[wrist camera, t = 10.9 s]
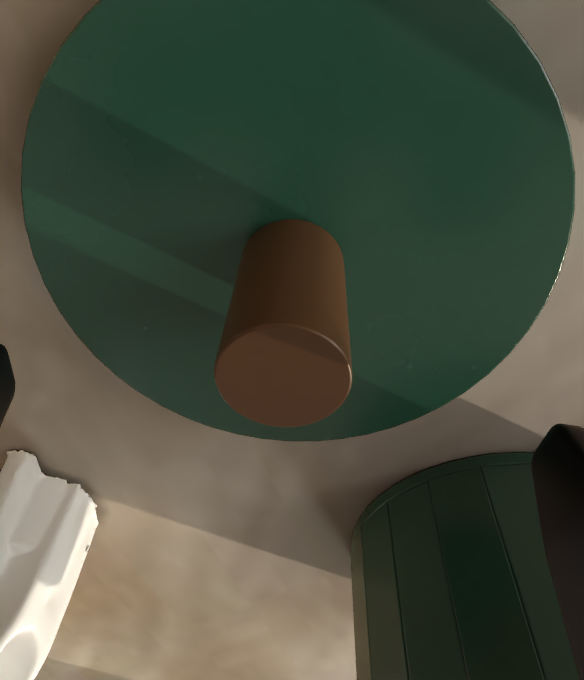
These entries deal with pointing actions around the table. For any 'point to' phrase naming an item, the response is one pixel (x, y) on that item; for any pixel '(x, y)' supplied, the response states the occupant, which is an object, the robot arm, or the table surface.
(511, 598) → the tin
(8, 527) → the shaker set
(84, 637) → the table surface
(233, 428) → the lid
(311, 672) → the table surface
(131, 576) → the table surface
